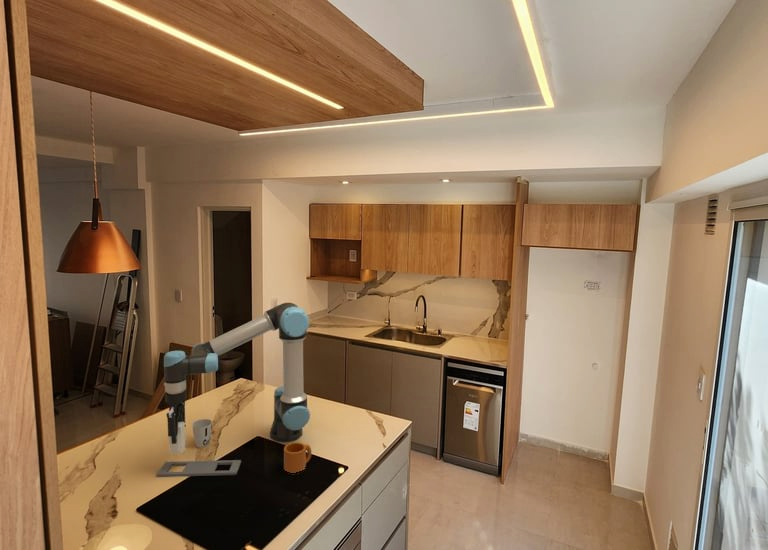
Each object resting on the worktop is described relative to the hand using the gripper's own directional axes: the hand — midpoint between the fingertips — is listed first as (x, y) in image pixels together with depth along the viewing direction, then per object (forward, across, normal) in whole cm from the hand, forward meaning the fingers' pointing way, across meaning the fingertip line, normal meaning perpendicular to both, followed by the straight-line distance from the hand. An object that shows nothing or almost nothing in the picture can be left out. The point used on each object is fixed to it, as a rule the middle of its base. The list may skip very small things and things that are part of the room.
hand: (177, 446), depth 171 cm
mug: (+11, 0, +48) cm, 49 cm away
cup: (+10, -20, +4) cm, 23 cm away
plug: (+2, 0, 0) cm, 2 cm away
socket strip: (+10, 0, +8) cm, 13 cm away
